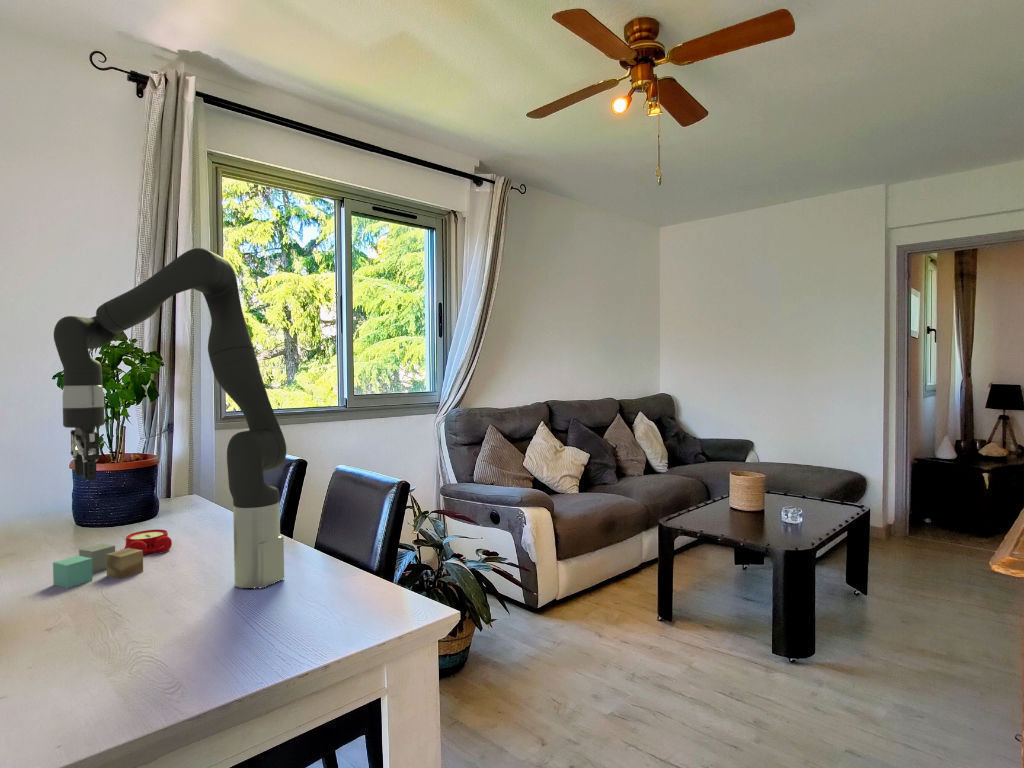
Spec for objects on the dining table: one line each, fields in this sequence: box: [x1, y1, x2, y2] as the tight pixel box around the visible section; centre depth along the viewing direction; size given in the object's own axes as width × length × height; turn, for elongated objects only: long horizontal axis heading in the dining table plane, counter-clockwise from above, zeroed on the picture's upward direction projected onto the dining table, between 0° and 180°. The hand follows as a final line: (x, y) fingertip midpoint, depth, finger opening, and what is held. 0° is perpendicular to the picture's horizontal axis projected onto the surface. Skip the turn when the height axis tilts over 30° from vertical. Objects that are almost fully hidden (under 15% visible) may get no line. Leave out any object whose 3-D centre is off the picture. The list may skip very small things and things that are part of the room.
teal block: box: [52, 555, 94, 589], centre depth 124 cm, size 5×5×5 cm
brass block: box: [106, 548, 144, 580], centre depth 130 cm, size 5×5×5 cm
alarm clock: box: [123, 529, 173, 556], centre depth 147 cm, size 10×6×15 cm
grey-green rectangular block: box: [78, 542, 116, 574], centre depth 134 cm, size 5×5×5 cm
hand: (85, 476), depth 128 cm, fingers open, 8 cm apart
